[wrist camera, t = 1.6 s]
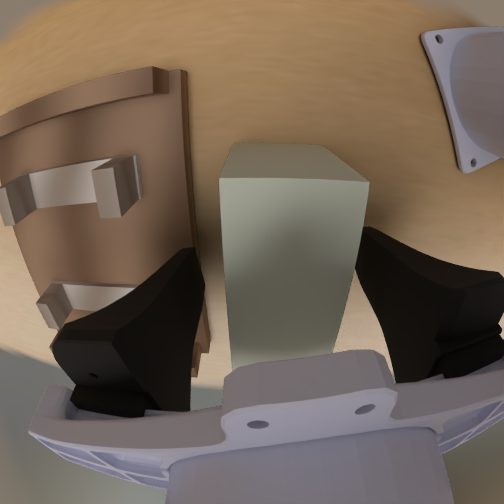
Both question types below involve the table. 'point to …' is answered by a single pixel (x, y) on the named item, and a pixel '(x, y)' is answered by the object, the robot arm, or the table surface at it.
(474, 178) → the table surface
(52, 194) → the brown wooden holder
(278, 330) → the tapered sage green block
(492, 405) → the robot arm
